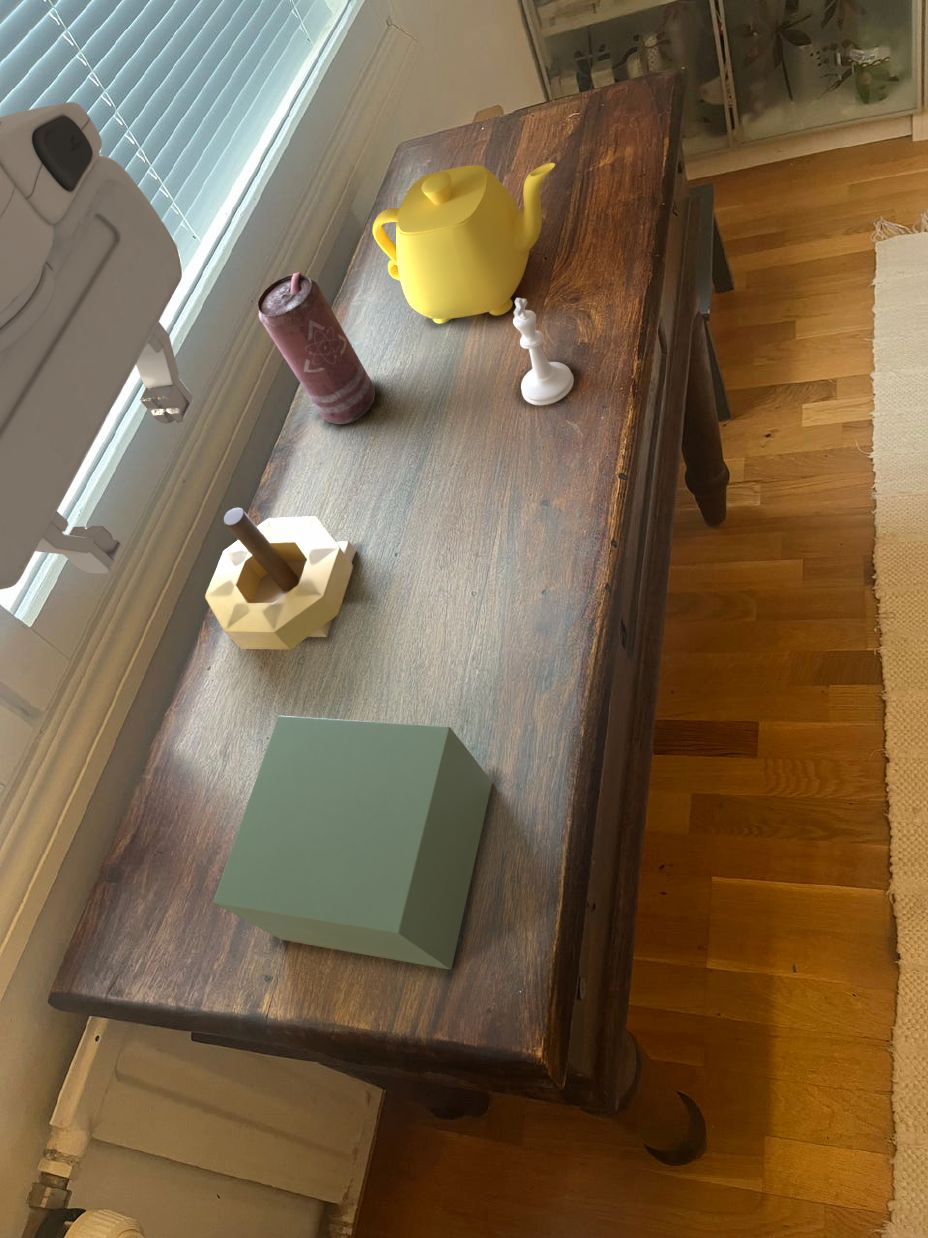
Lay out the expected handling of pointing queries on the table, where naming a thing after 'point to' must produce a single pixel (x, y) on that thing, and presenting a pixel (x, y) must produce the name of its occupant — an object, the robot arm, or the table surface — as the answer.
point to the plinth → (360, 838)
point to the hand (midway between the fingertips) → (144, 483)
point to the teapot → (462, 241)
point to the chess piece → (539, 363)
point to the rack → (273, 562)
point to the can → (316, 348)
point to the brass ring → (295, 609)
